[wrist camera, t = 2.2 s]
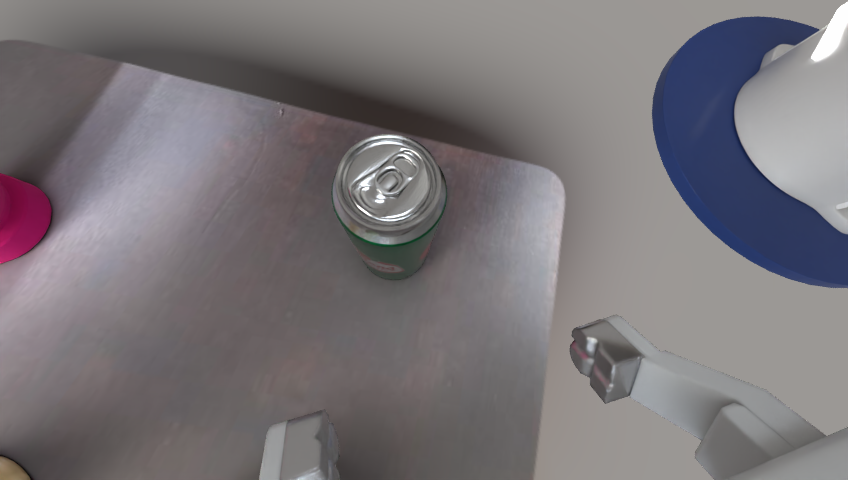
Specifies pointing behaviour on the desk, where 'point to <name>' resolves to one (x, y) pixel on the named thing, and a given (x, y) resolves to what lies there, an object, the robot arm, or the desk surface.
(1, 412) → the desk surface
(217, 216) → the desk surface
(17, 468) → the hand bell
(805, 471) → the robot arm
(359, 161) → the soda can
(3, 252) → the pepper mill
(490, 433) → the desk surface
